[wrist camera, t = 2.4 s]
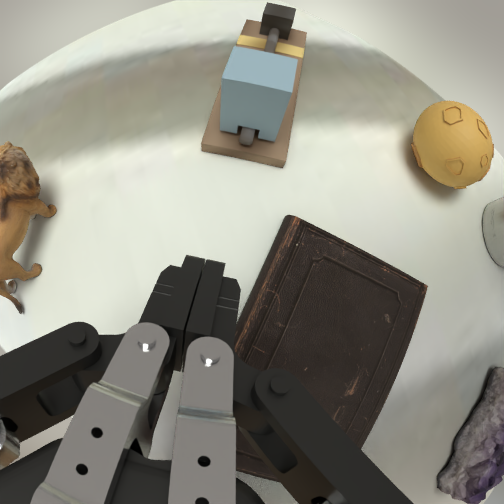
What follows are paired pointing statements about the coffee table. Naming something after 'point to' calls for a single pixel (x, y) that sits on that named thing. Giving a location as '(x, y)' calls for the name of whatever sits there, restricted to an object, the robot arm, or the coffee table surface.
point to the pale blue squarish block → (256, 91)
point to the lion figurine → (17, 214)
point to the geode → (478, 448)
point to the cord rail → (275, 153)
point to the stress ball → (452, 144)
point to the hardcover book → (327, 327)
